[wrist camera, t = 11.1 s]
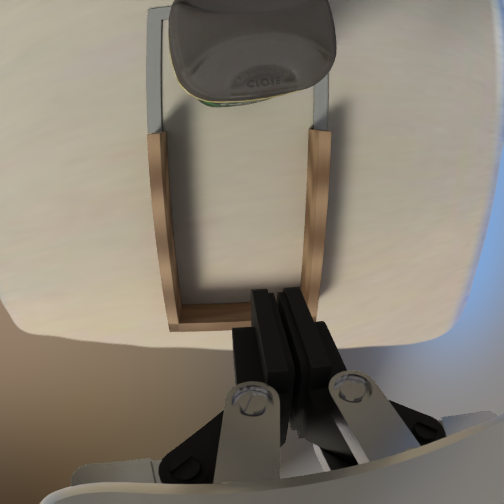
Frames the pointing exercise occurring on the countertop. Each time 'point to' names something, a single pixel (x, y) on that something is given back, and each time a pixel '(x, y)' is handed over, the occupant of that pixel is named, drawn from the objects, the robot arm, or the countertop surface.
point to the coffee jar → (250, 48)
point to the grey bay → (155, 77)
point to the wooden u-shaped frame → (240, 313)
